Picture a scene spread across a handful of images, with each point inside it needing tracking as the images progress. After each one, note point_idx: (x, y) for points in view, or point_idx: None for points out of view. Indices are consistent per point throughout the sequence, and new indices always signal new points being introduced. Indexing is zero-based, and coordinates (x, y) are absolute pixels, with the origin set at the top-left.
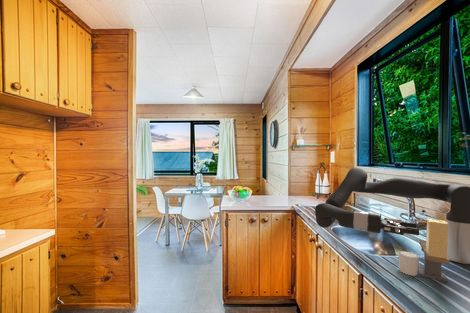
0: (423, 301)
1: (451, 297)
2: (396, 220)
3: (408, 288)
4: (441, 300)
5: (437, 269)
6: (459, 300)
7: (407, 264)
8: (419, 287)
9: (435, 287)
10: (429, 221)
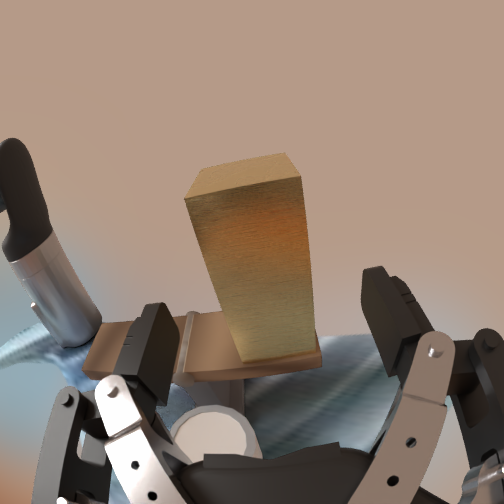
0: None
1: (355, 356)
2: (156, 452)
3: None
4: None
5: None
6: (357, 343)
7: (259, 457)
8: (357, 423)
9: (317, 391)
10: (298, 175)
